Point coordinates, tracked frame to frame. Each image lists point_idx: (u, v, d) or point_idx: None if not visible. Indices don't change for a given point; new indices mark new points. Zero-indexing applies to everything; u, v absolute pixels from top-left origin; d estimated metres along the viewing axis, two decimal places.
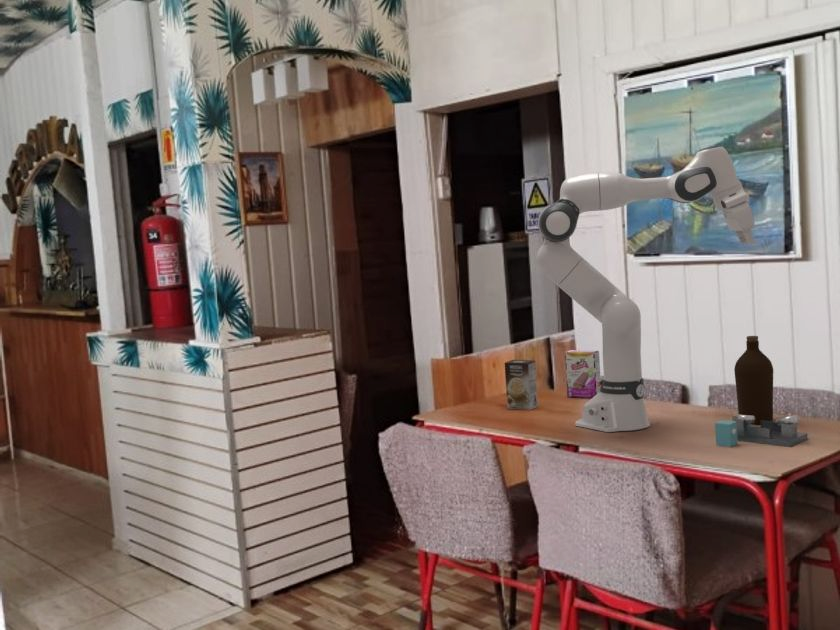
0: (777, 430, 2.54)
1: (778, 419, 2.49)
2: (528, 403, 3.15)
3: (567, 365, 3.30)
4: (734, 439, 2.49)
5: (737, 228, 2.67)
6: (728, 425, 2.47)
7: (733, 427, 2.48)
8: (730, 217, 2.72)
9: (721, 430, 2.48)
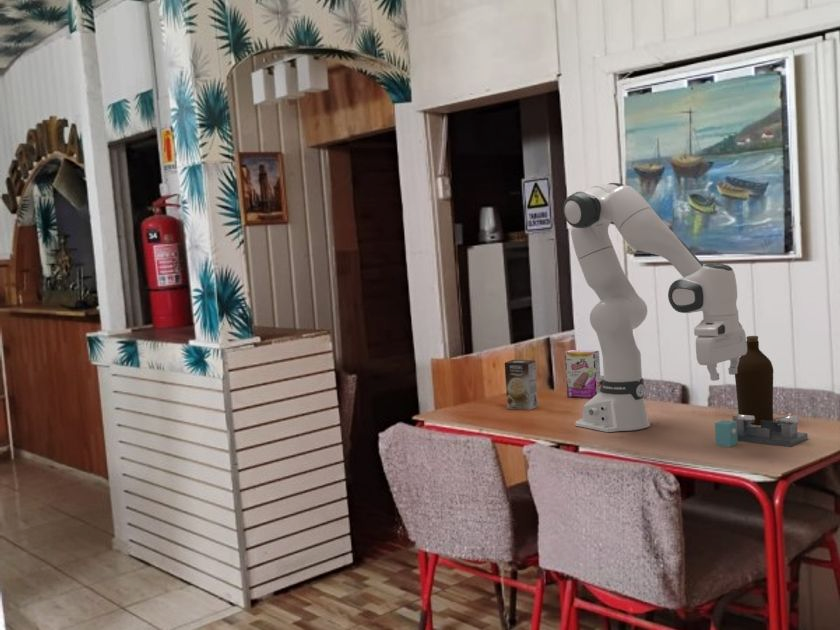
0: (777, 430, 2.54)
1: (778, 419, 2.49)
2: (528, 403, 3.15)
3: (567, 365, 3.30)
4: (734, 439, 2.49)
5: None
6: (728, 425, 2.47)
7: (733, 427, 2.48)
8: None
9: (721, 430, 2.48)
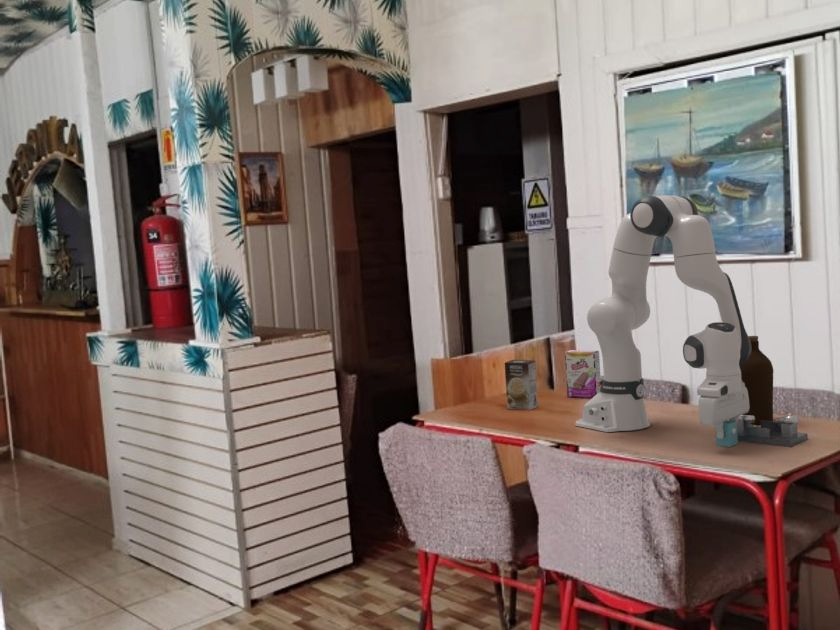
0: (777, 430, 2.54)
1: (778, 419, 2.49)
2: (528, 403, 3.15)
3: (567, 365, 3.30)
4: (734, 439, 2.49)
5: None
6: (728, 425, 2.47)
7: (733, 427, 2.48)
8: None
9: None
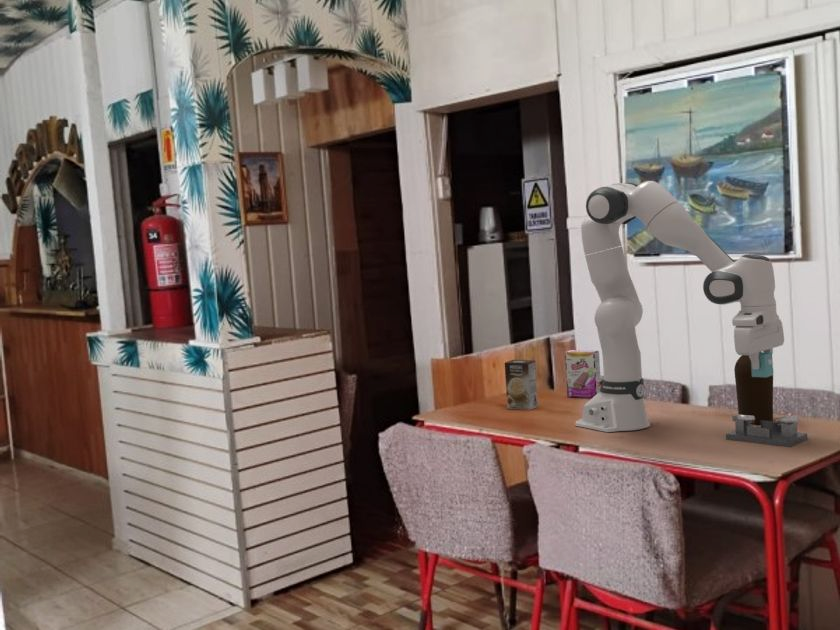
0: (777, 430, 2.54)
1: (778, 419, 2.49)
2: (528, 403, 3.15)
3: (567, 365, 3.30)
4: (770, 370, 2.49)
5: None
6: (764, 355, 2.47)
7: (769, 358, 2.49)
8: None
9: None
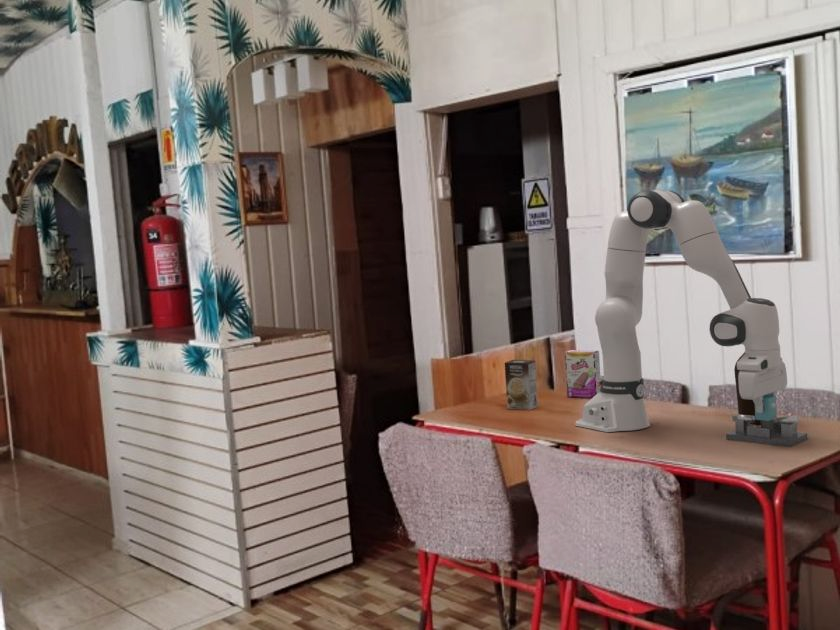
0: (777, 430, 2.54)
1: (778, 419, 2.49)
2: (528, 403, 3.15)
3: (567, 365, 3.30)
4: (773, 413, 2.51)
5: None
6: (768, 399, 2.49)
7: (772, 401, 2.50)
8: None
9: None
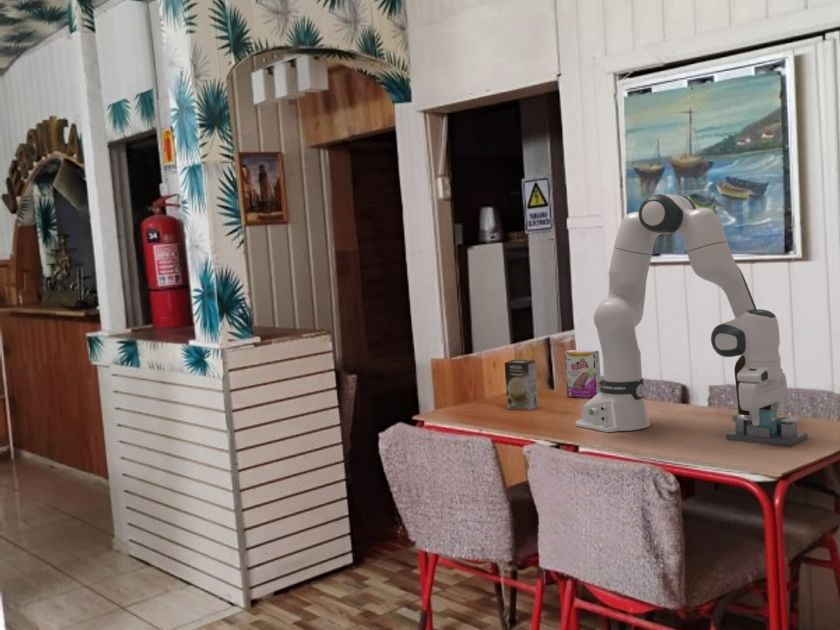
0: (777, 430, 2.54)
1: (778, 419, 2.49)
2: (528, 403, 3.15)
3: (567, 365, 3.30)
4: (773, 428, 2.51)
5: None
6: (768, 414, 2.49)
7: (773, 416, 2.51)
8: None
9: (761, 419, 2.51)
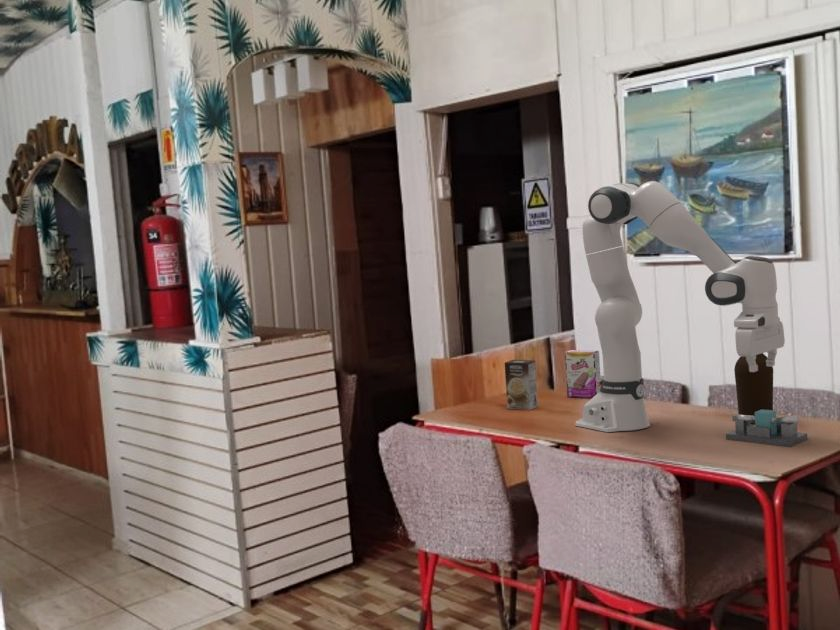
0: (777, 430, 2.54)
1: (778, 419, 2.49)
2: (528, 403, 3.15)
3: (567, 365, 3.30)
4: (773, 428, 2.51)
5: None
6: (768, 414, 2.49)
7: (773, 416, 2.51)
8: None
9: (761, 419, 2.51)
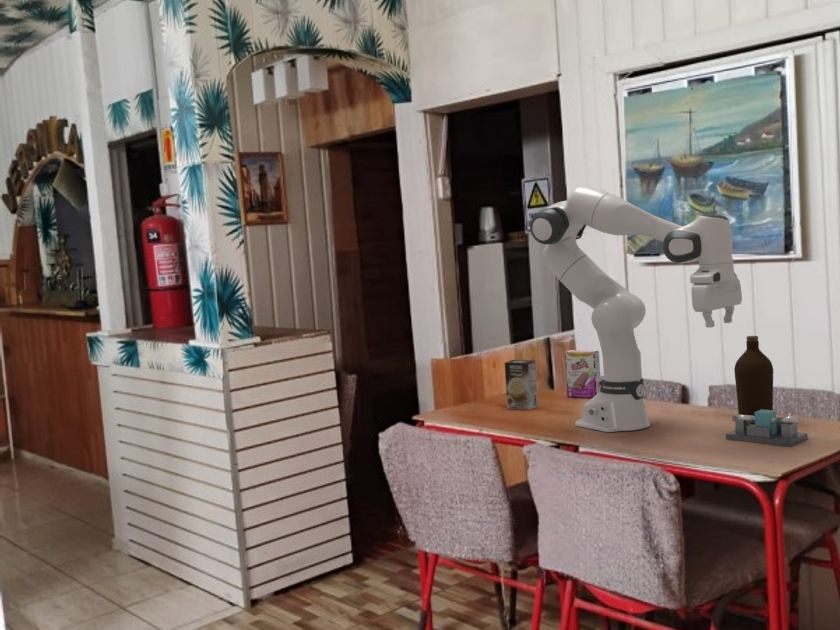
0: (777, 430, 2.54)
1: (778, 419, 2.49)
2: (528, 403, 3.15)
3: (567, 365, 3.30)
4: (773, 428, 2.51)
5: None
6: (768, 414, 2.49)
7: (773, 416, 2.51)
8: None
9: (761, 419, 2.51)
